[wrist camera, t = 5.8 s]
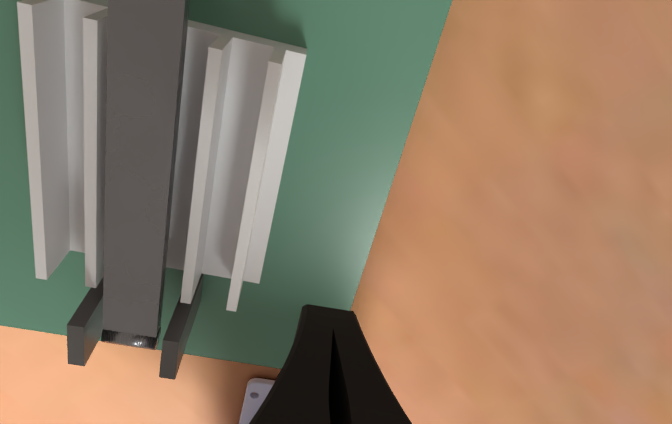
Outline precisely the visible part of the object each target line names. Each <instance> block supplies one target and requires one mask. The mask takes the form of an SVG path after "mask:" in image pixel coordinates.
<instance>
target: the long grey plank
mask: <svg viewBox="0 0 672 424" xmlns="http://www.w3.org/2000/svg"><path fill="white" fill-rule="evenodd" d="M189 7H190V0H108V31H107V94H106V157H105V219H104V282H103V330H102V335H101V341H102V342H106V343H112V344H119V345H125V346H131V347H138V348H144V349H151V350H156V348H157V346H158V343H159V339H160V334H161V317H162V306H163V294H164V283H165V272H166V261H167V250H168V239H169V228H170V217H171V206H172V195H173V184H174V173H175V162H176V151H177V140H178V129H179V118H180V107H181V96H182V85H183V74H184V63H185V51H186V40H187V29H188V18H189Z"/></svg>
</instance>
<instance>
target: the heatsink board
mask: <svg viewBox="0 0 672 424" xmlns="http://www.w3.org/2000/svg"><path fill="white" fill-rule="evenodd" d="M451 3H452V0H190V7H189V18H188V29H187V40H186V51H185V63H184V74H183V85H182V96H181V107H180V118H179V129H178V140H177V151H176V162H175V173H174V184H173V195H172V206H171V217H170V228H169V239H168V250H167V261H166V272H165V283H164V294H163V306H162V317H161V334H160V339H159V343H158V346H157V348H156V349H157V350H162V353H161V363H160V374H159V377H161V378H168V379H175V378H176V375H177V372H178V369H179V366H180V362H181V359H182V356H183V354H189V355H195V356H202V357H208V358H215V359H221V360H228V361H234V362H241V363H247V364H253V365H260V366H266V367H273V368H279V369H282V367H283V365H284V363H285V361H286V359H287V357H288V354H289V352H290V350H291V347H292V345H293V342H294V338H295V334H296V330H297V326H298V322H299V318H300V313H301V309H302V307H303V306H304V305H306V304H310V305H317V306H323V307H329V308H335V309H342V310H348V311H350V309H351V306H352V303H353V300H354V297H355V294H356V291H357V288H358V285H359V282H360V279H361V276H362V273H363V270H364V267H365V264H366V261H367V258H368V255H369V252H370V249H371V246H372V243H373V240H374V236H375V233H376V230H377V227H378V224H379V221H380V218H381V215H382V212H383V209H384V206H385V203H386V200H387V197H388V194H389V191H390V188H391V185H392V182H393V179H394V176H395V173H396V170H397V167H398V164H399V161H400V158H401V155H402V152H403V148H404V145H405V142H406V139H407V136H408V133H409V130H410V127H411V124H412V121H413V118H414V115H415V112H416V109H417V106H418V103H419V100H420V97H421V94H422V91H423V88H424V85H425V82H426V79H427V76H428V73H429V70H430V67H431V64H432V60H433V57H434V54H435V51H436V48H437V45H438V42H439V39H440V36H441V33H442V30H443V27H444V24H445V21H446V18H447V15H448V12H449V9H450V6H451ZM107 31H108V0H0V325H2V326H8V327H15V328H21V329H27V330H34V331H40V332H47V333H53V334H60V335H66V336H67V347H68V364H73V365H80V366H85V364H86V362H87V361H88V359H89V357H90V355H91V353H92V351H93V350H94V348H95V346H96V344H97V342H98V341H101V335H102V330H103V282H104V219H105V157H106V94H107Z"/></svg>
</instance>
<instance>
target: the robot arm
mask: <svg viewBox="0 0 672 424" xmlns="http://www.w3.org/2000/svg"><path fill="white" fill-rule="evenodd" d="M253 392H256V393H253ZM239 424H412V423H411V421H410V420H409V418H408V417H407V415H406V414H405V412H404V411H403V409H402V407H401V406H400V404H399V402H398V401H397V399H396V397H395V396H394V394H393V392H392V391H391V389H390V387H389V385H388V383H387V382H386V380H385V378H384V376H383V374H382V372H381V370H380V368H379V366H378V364H377V363H376V361H375V359H374V356H373V354H372V352H371V350H370V348H369V346H368V344H367V341H366V339H365V337H364V335H363V332H362V330H361V327H360V325H359V322H358V320H357V317H356V315H355V314H354V312H353V311H348V310H342V309H335V308H329V307H323V306H317V305H310V304H306V305H304V306H303V307H302V309H301V313H300V318H299V322H298V326H297V330H296V334H295V338H294V342H293V345H292V347H291V350H290V352H289V354H288V357H287V359H286V361H285V363H284V365H283V367H282V369H281V371H280V373H279V375H278V377H277V379H276V381H275V380H268V379H262V378H253V379H250V380H249V381H248V383H247V388H246V392H245V397H244V402H243V406H242V411H241V415H240V420H239Z"/></svg>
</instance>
